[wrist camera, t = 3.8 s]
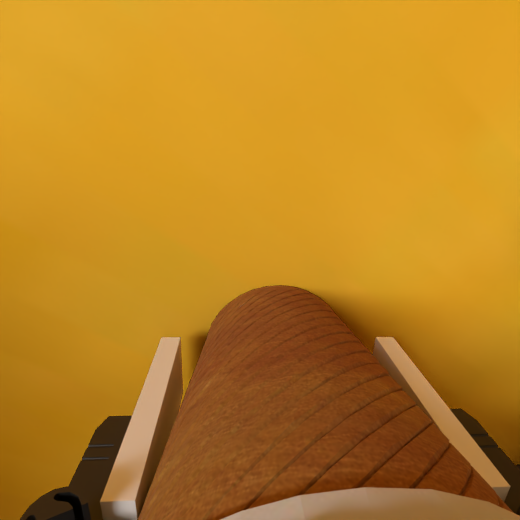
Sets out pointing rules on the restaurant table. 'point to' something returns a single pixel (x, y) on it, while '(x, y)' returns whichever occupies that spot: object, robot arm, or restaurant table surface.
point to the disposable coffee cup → (305, 429)
